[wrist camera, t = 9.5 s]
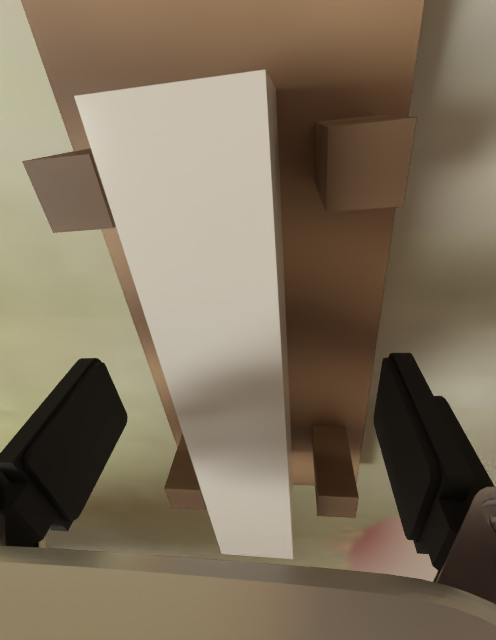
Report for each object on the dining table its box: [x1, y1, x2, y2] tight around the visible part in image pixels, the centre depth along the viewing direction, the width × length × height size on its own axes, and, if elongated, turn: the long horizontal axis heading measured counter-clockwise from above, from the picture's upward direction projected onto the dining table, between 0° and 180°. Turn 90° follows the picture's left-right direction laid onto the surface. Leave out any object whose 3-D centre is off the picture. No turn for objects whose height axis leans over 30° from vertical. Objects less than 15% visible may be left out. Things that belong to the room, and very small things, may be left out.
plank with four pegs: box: [21, 0, 424, 518], centre depth 13 cm, size 22×10×5 cm, turn 6°
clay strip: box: [74, 70, 293, 559], centre depth 11 cm, size 16×3×5 cm, turn 6°
